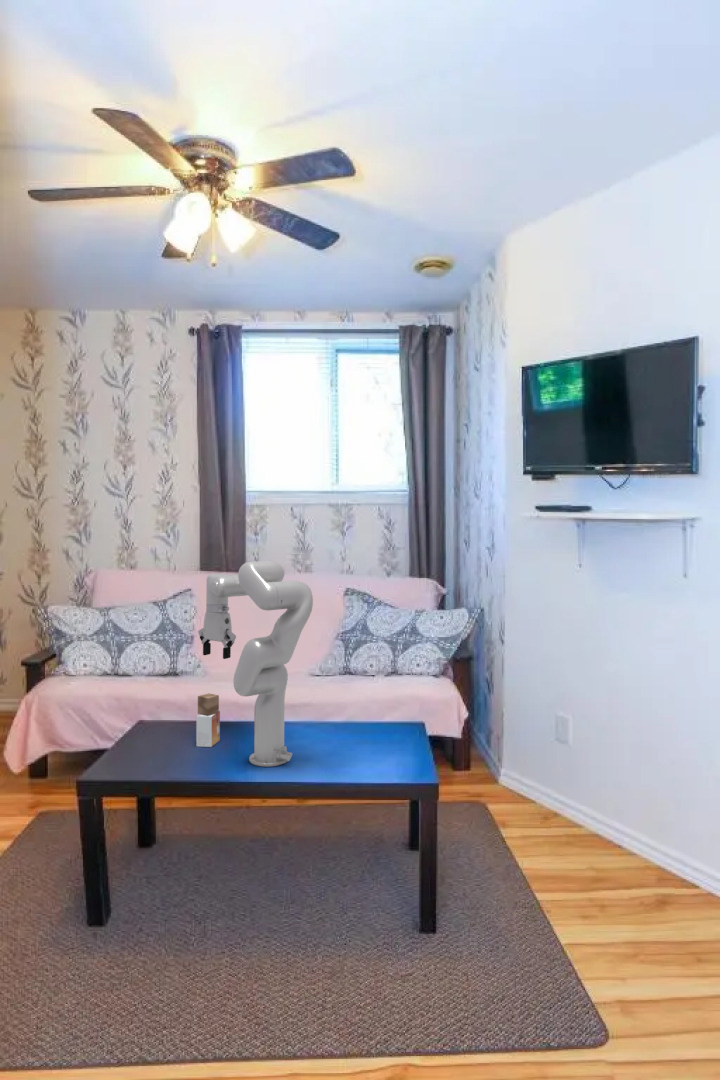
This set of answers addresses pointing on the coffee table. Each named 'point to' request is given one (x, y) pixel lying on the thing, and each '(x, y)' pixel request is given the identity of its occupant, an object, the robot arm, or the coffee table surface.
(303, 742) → the coffee table surface
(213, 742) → the small box
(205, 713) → the walnut block
